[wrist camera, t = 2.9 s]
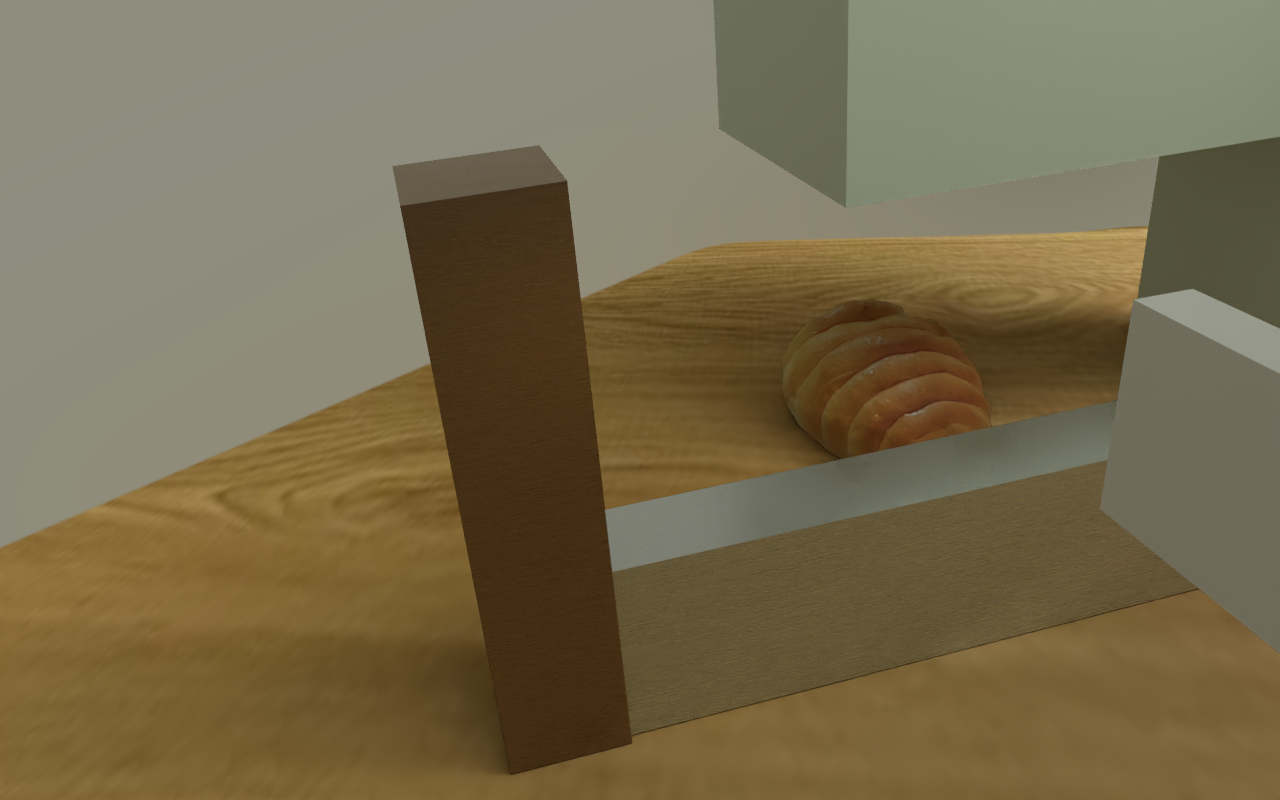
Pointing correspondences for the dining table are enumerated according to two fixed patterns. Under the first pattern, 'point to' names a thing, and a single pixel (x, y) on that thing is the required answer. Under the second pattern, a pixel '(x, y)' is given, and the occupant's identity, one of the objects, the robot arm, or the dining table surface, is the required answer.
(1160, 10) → the green cabinet
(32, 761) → the dining table surface
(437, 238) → the l-shaped try square
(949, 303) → the dining table surface
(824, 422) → the pastry
